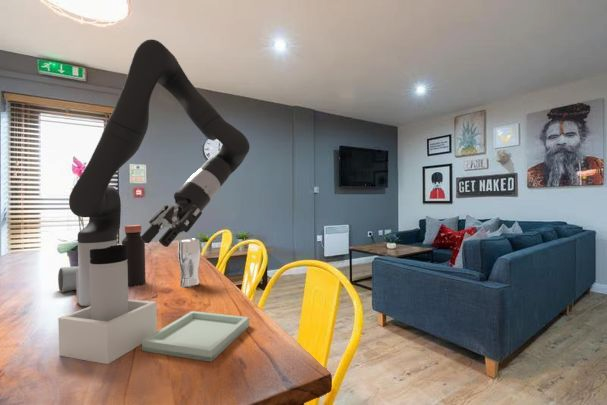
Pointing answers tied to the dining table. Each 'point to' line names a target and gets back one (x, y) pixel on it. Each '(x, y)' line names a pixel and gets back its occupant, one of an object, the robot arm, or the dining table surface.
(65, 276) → the ceramic mug
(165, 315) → the dining table surface
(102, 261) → the travel mug
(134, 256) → the bottle
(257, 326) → the dining table surface
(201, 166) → the robot arm
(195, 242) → the beer glass
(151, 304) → the holder
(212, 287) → the dining table surface
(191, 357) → the tray
